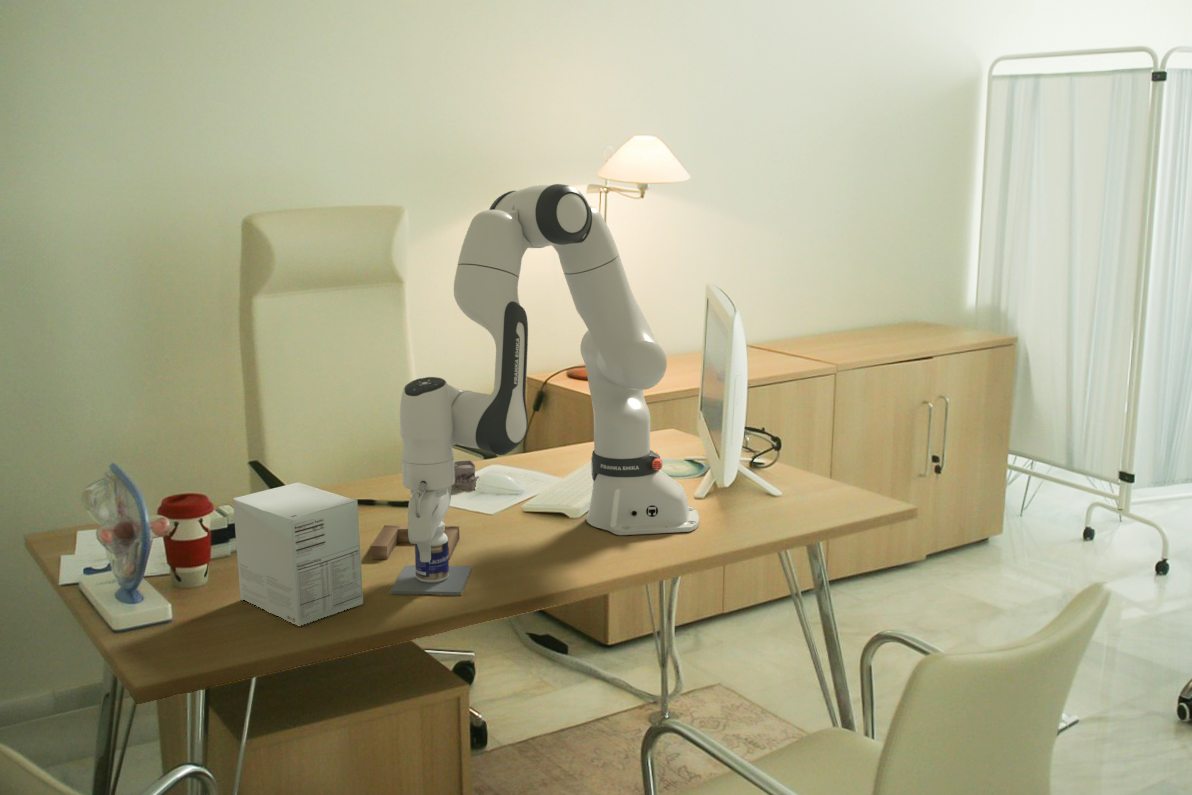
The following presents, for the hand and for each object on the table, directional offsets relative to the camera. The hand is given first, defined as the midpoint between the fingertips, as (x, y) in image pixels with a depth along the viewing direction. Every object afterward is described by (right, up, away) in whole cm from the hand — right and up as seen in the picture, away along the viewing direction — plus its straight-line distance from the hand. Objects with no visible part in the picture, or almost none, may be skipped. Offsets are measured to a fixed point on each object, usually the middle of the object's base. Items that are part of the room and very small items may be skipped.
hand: (431, 550), depth 204 cm
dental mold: (-1, +7, +56) cm, 57 cm away
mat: (0, -5, +1) cm, 6 cm away
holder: (-5, -2, +17) cm, 18 cm away
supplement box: (-21, -8, -8) cm, 23 cm away
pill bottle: (0, -5, +1) cm, 5 cm away
